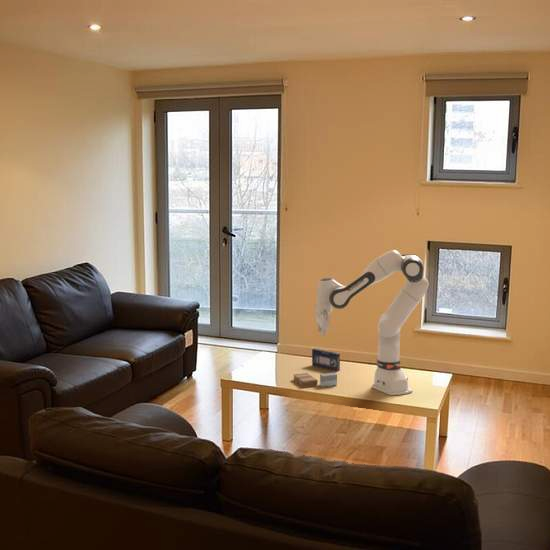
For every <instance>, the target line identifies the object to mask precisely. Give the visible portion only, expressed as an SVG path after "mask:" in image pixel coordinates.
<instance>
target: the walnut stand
mask: <svg viewBox="0 0 550 550" xmlns="http://www.w3.org/2000/svg"><path fill="white" fill-rule="evenodd" d="M293 380H294V381H295V382H296V383H297V384H298V383H299V386H301V387H302V388H309V386H311V387H317V386H318V379H316V378H315V377H314V376H312V375H311V374H309V373H308V372H304V373H296V374H293ZM316 385H317V386H316Z"/></svg>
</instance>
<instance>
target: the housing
mask: <svg viewBox="0 0 550 550" xmlns="http://www.w3.org/2000/svg"><path fill="white" fill-rule="evenodd" d="M319 380H320V381H319V386H321V385H322V386H328V387H334V386H333V385H337V386H338V374H337V373H335V372H328V373H320V374H319ZM322 386H321V387H322Z"/></svg>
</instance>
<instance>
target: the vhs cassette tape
mask: <svg viewBox="0 0 550 550" xmlns="http://www.w3.org/2000/svg"><path fill="white" fill-rule="evenodd" d="M340 357H341V354H340V353H338V352H337V353H336V352H333V351H328V350H322V349H319V348H313V349H311V363H312V364H311V365H313V366H312V367H316V366H317V367H316V368H320V367H321V368H320V369H324V368H325V370H329V369H330V371H333V370H335V371H334V372H339V370H340V368H341V365H340V364H341V361H340V360H341V358H340Z"/></svg>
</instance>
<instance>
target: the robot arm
mask: <svg viewBox="0 0 550 550" xmlns="http://www.w3.org/2000/svg"><path fill="white" fill-rule="evenodd" d="M399 271H400V272H402V274H403V276H405V278H406V279H407V281H406V282H405V284H404V286H403V287H402V289H401V290H400V291H399V293H398V294H397V295H396V296H395V298H394V299H393V300H392V302H391V304H390V305H389V306H388V308H387V309H386V311H385V312H383V313H382V314H381V315H380V318H379V320H378V323H377V330H378V343H377V344H378V346H377V359H376V366H377V367H376V370H375V372H374V375H373V376H374V377H373V383H372V385H371V388H372V389H375V390H377V391H379V392H382V393H384V394H387V395H389V396H399V395H407V394H411V393H413V389H412V388H411V387H410V386H409V385H408V384H409V383H408V381H409V377H408V376H406V375H405V373H404V371H403V370H402V364H401V361H400V346H401V345H400V342H401V328H402V327H403V325H404V324H405V323H406V322H407V319H408V318H409V316H410V315H411V314H412V313H413V311H414V310H415V308H416V307H417V306H418V304H419V303H420V302H421V300H422V299H423V297H425V295H426V293H427V291H428V289H429V286H430V282H429V281H428V279H427V278H426V277H425V276H424V275H423V274H424V262H423V260H422V258H421V257H420V256H419V255H418V254H414V253H409V254H401V253H400V252H399V251H397V250H396V249H395V250H394V249H392V250H389V251H386V252H384V253H383V254H381V255H380V256H378V257H376V258H375V259H373V261H371V262H370V263H369V264H368V265H367V266H366V267H365V269H364V270H363V272H362V273H361V274H360V275H359V276H358V277H357V278H356V279H355V280H353V281H351V282H350V283H349V284H348V285H343V284H341V283H339V282H337V281H336V280H335V278H332V277H325V278H322V279H320V280H319V282H318V284H317V291H316V300H315V304H314V305H315V306H314V308H315V320H316V322H317V331H318V332H320V333H321V334H320V335H321V336H322V337H325V336H326V332H327V330H329V328H330V317H331V316H330V314H331V313H333V308H334V309H340V310H341V309H344V308H346V307H347V306H348V305H349V303H350V301H351V299H353V298H354V297H355V296H356V295H358V294H359V293H360V292H361V291H363V290H366V289H367V288H368V287H371V286H372V285H374V284H377V283H379V282H381V281H383V280H385V279H386V278H388V277H389V276H391V275H392V274H394V273H396V272H399Z"/></svg>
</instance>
